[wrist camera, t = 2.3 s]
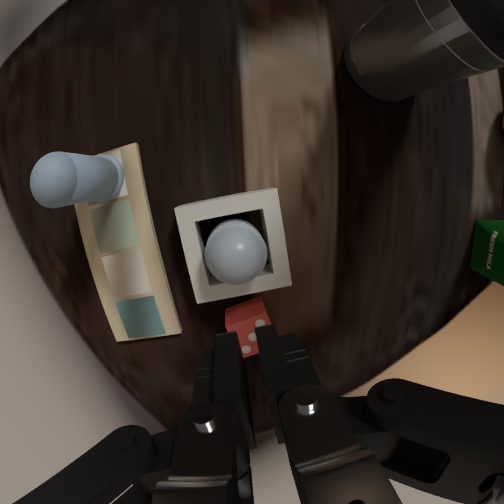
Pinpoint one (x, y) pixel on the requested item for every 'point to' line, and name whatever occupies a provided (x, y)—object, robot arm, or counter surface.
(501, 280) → the milk carton
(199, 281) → the base
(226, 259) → the light blue rounded piece
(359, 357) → the counter surface
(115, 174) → the pawn
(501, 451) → the robot arm
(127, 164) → the track
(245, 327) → the die
